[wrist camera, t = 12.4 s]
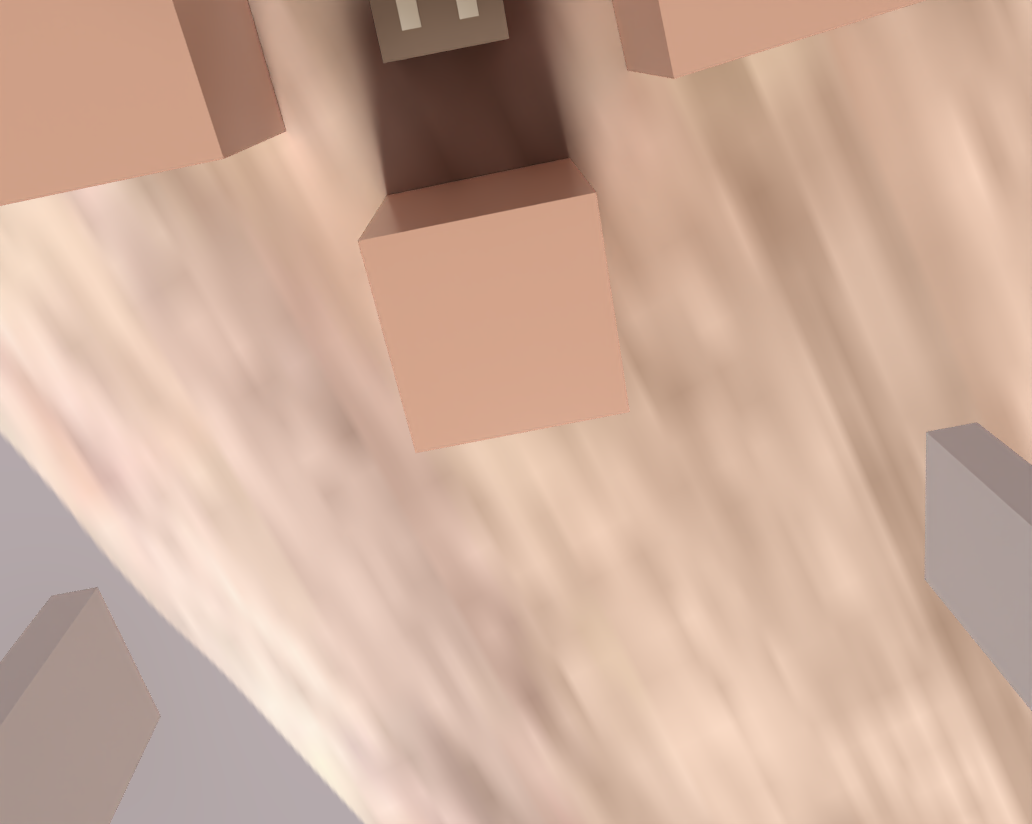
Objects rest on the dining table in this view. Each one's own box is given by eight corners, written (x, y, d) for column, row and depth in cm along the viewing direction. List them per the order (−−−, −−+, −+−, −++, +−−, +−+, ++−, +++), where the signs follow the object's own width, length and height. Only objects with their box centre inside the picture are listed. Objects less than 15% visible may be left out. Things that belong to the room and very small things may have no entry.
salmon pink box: (19, -42, 28) (-144, -72, 21) (222, -87, 28) (128, -134, 20) (101, 170, 31) (-17, 209, 23) (286, 131, 30) (223, 158, 23)
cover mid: (429, 365, 34) (415, 453, 27) (386, 195, 32) (357, 241, 24) (598, 332, 34) (629, 412, 27) (569, 157, 31) (596, 192, 24)
